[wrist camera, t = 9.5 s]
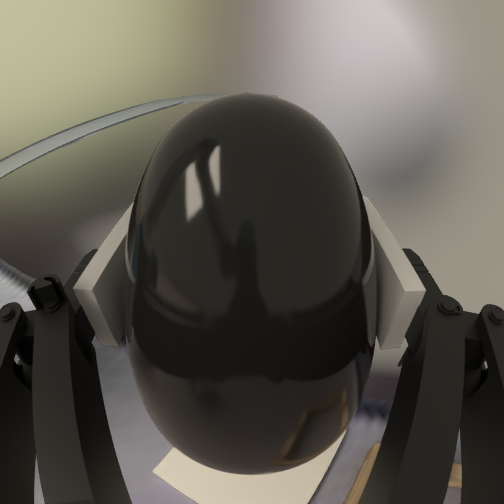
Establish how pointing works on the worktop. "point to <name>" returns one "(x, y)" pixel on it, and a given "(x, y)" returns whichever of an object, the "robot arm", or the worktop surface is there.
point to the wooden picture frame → (366, 468)
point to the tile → (244, 481)
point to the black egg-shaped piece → (250, 286)
